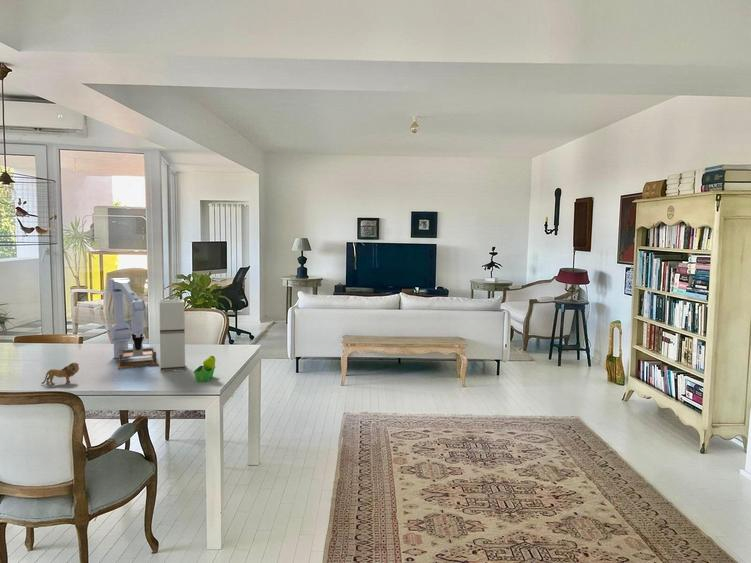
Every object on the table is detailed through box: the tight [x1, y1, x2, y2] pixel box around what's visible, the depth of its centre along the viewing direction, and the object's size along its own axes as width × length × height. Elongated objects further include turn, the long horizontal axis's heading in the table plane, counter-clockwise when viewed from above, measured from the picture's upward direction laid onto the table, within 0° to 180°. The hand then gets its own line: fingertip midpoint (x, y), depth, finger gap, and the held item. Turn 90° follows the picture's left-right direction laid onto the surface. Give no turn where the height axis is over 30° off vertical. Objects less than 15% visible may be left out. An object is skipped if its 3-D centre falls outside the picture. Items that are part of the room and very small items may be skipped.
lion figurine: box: [41, 362, 80, 386], centre depth 225 cm, size 15×5×9 cm, turn 118°
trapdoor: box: [122, 346, 153, 359], centre depth 263 cm, size 10×14×3 cm
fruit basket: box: [193, 355, 216, 382], centre depth 237 cm, size 11×9×11 cm
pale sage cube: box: [132, 343, 143, 355], centre depth 260 cm, size 4×4×5 cm
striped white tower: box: [158, 299, 186, 372], centre depth 253 cm, size 11×11×35 cm
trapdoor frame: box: [116, 346, 160, 370], centre depth 263 cm, size 18×19×6 cm
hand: (137, 348), depth 261 cm, fingers open, 7 cm apart
